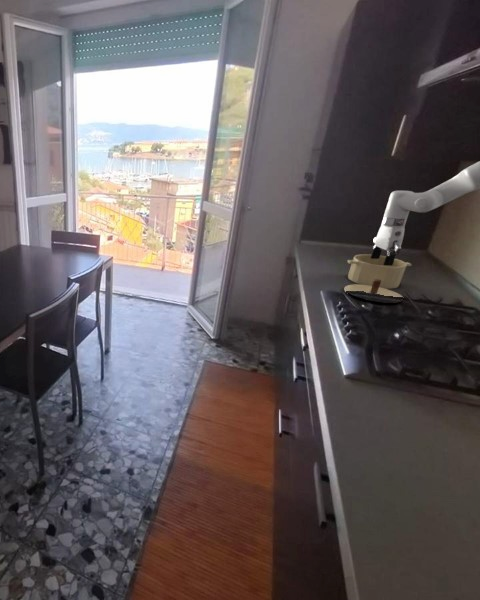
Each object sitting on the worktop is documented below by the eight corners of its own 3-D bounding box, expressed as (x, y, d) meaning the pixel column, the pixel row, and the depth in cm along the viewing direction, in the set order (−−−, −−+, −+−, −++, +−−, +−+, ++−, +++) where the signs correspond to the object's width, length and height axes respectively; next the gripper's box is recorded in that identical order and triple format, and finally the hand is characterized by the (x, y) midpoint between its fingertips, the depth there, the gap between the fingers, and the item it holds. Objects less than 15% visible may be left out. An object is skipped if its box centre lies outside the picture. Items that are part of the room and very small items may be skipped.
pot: (416, 290, 147) (425, 268, 143) (353, 286, 151) (360, 265, 147) (390, 275, 163) (397, 255, 159) (334, 272, 167) (339, 253, 163)
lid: (414, 307, 133) (421, 290, 130) (358, 303, 136) (363, 287, 133) (384, 288, 150) (390, 273, 147) (335, 285, 153) (339, 270, 150)
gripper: (418, 226, 138) (403, 268, 145) (391, 218, 154) (379, 256, 160) (396, 226, 139) (382, 267, 146) (371, 218, 155) (360, 256, 162)
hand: (380, 261), depth 153 cm, fingers open, 9 cm apart
